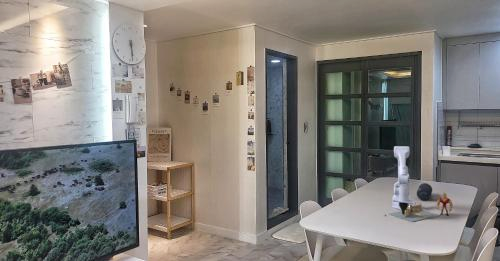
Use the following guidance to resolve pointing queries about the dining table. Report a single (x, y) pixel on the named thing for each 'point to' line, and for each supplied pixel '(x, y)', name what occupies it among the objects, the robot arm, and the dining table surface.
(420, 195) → the portable speaker
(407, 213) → the tan piece
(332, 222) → the dining table surface
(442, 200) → the action figure
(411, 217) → the board
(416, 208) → the fixed fence section
